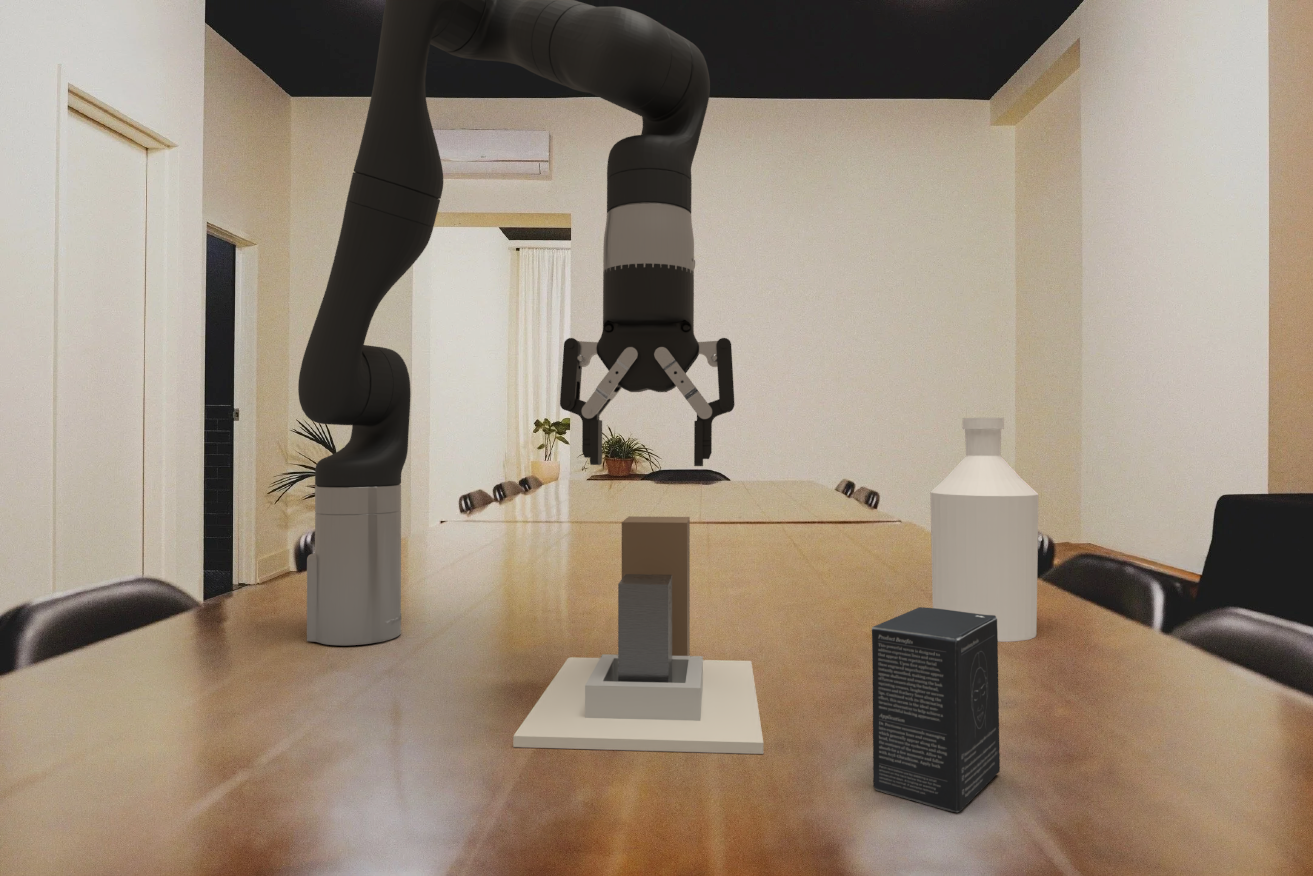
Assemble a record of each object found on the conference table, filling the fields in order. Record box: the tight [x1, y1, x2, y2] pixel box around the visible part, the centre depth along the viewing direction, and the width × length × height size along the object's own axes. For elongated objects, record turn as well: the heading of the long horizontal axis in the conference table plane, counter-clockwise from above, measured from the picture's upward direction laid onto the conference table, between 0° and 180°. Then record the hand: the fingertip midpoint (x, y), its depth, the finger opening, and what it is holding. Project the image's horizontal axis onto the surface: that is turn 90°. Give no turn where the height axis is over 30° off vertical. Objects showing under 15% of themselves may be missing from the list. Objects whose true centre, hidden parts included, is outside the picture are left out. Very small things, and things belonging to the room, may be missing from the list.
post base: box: [512, 515, 764, 755], centre depth 70 cm, size 18×22×15 cm
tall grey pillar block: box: [617, 574, 672, 683], centre depth 68 cm, size 4×5×10 cm
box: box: [871, 606, 1001, 813], centre depth 53 cm, size 8×6×11 cm
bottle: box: [929, 417, 1040, 643], centre depth 97 cm, size 12×12×25 cm
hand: (647, 465), depth 68 cm, fingers open, 8 cm apart
